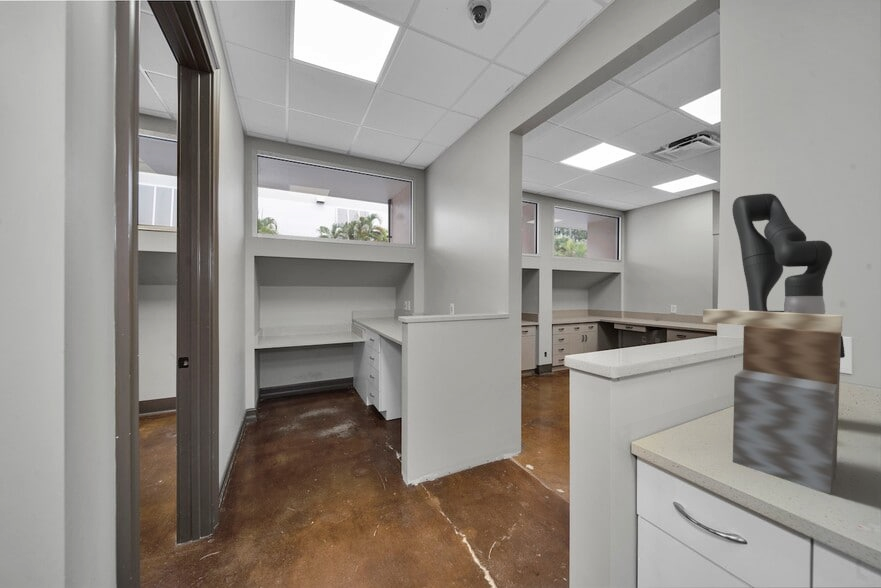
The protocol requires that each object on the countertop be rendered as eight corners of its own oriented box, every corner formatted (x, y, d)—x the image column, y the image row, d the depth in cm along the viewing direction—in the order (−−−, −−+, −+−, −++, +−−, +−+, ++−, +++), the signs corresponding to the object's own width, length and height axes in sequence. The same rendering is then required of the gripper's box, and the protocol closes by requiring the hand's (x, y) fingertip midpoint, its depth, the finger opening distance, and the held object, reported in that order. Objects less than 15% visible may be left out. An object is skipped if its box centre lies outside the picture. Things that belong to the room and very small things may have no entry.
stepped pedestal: (732, 461, 77) (735, 329, 76) (748, 440, 87) (751, 323, 85) (830, 494, 65) (835, 338, 64) (836, 466, 75) (841, 329, 73)
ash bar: (702, 322, 89) (703, 309, 89) (706, 320, 91) (707, 308, 91) (841, 332, 70) (841, 316, 70) (842, 330, 72) (842, 315, 72)
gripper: (829, 313, 90) (831, 371, 89) (763, 312, 95) (764, 367, 95) (851, 313, 83) (853, 377, 82) (777, 312, 88) (779, 371, 88)
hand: (805, 371), depth 89 cm, fingers open, 8 cm apart
